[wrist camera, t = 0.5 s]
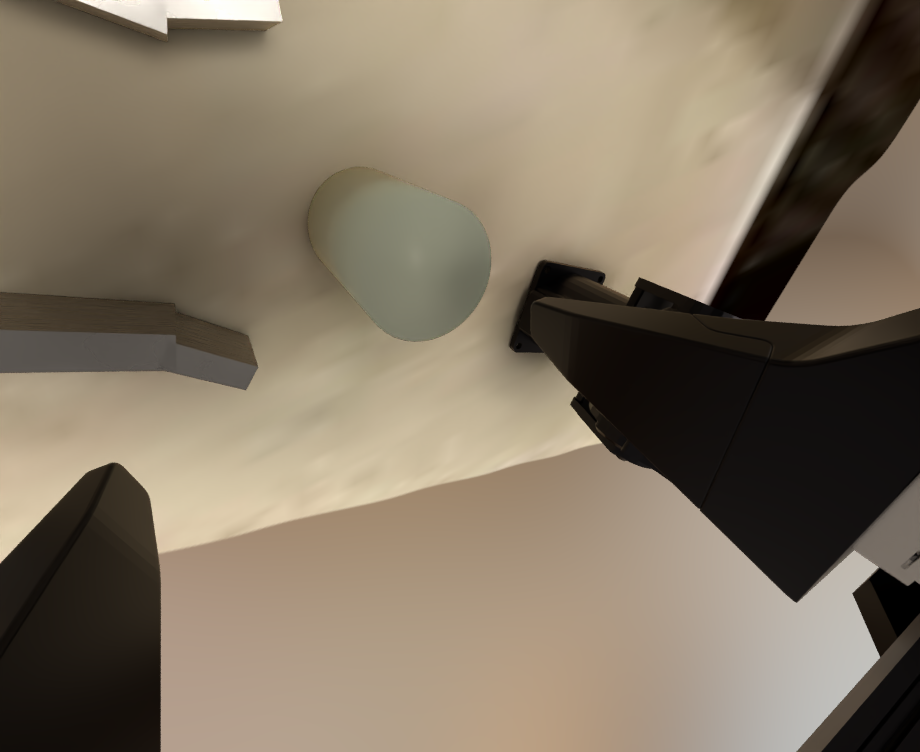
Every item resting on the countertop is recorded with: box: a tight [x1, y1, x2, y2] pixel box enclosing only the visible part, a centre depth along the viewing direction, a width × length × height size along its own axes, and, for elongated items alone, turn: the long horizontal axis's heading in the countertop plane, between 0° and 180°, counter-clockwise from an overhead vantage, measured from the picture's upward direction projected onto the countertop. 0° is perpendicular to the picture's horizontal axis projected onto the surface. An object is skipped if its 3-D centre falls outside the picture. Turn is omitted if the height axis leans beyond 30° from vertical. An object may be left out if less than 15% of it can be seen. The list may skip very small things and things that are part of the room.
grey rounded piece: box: [308, 167, 491, 342], centre depth 17 cm, size 5×5×7 cm
